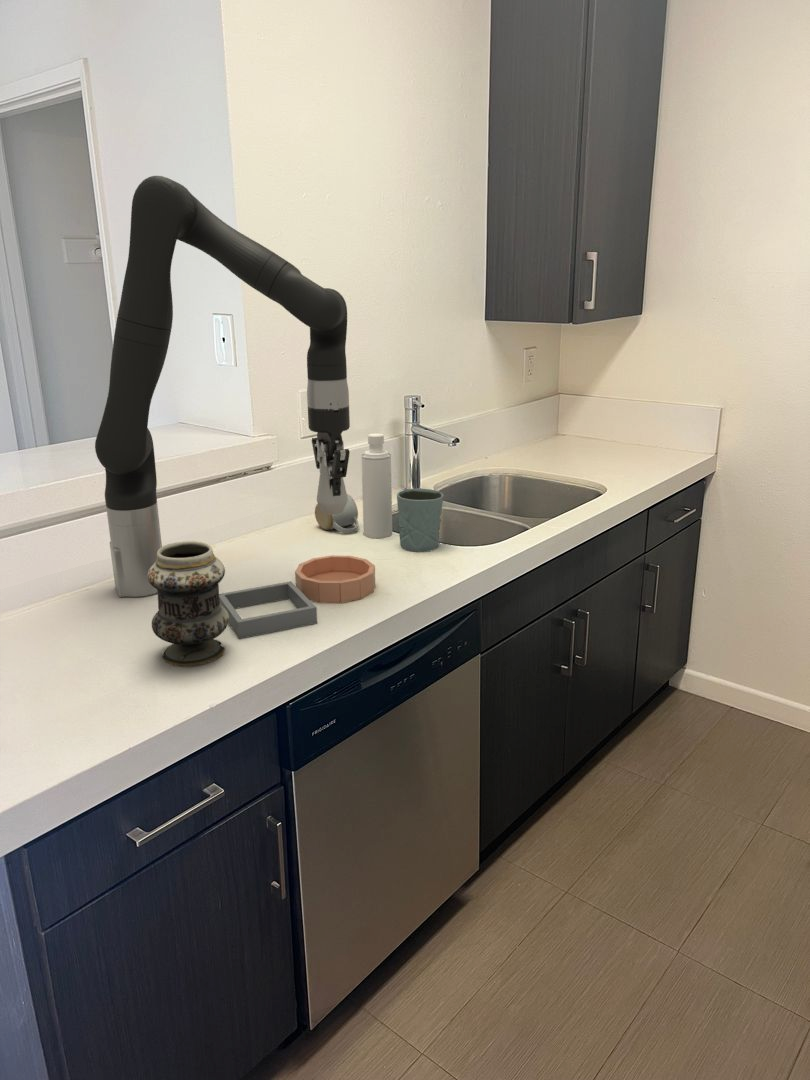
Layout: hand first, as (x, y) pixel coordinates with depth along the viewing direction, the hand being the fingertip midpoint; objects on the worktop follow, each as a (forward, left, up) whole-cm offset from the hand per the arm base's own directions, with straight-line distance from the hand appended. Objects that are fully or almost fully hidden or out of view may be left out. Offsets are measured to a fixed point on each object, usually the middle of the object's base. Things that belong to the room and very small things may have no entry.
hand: (331, 495), depth 155 cm
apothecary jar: (-31, -16, -19) cm, 40 cm away
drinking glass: (+26, +15, -19) cm, 36 cm away
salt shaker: (0, 0, -3) cm, 3 cm away
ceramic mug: (+15, +35, -19) cm, 43 cm away
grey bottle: (+21, +27, -19) cm, 39 cm away
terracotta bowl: (0, 0, -19) cm, 19 cm away
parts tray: (-16, -7, -19) cm, 26 cm away
